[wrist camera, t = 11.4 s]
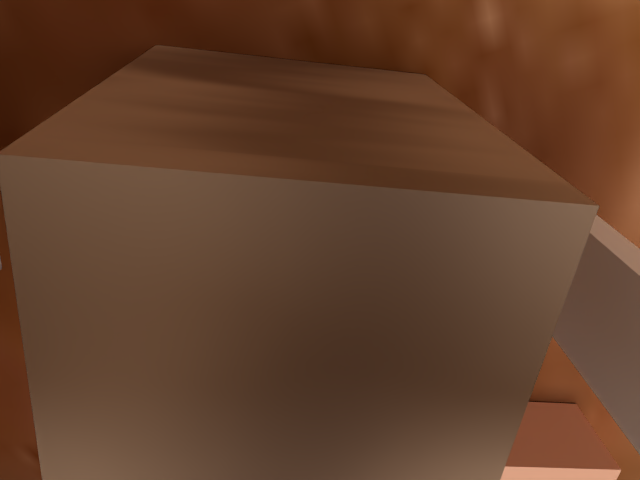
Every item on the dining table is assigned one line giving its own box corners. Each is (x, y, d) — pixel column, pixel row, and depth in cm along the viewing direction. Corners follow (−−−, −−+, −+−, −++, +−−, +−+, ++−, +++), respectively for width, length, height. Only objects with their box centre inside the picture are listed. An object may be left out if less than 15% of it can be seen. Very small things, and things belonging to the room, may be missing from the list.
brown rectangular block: (158, 283, 17) (54, 566, 9) (156, 44, 14) (-5, 154, 6) (382, 297, 18) (467, 569, 10) (425, 74, 15) (598, 205, 7)
